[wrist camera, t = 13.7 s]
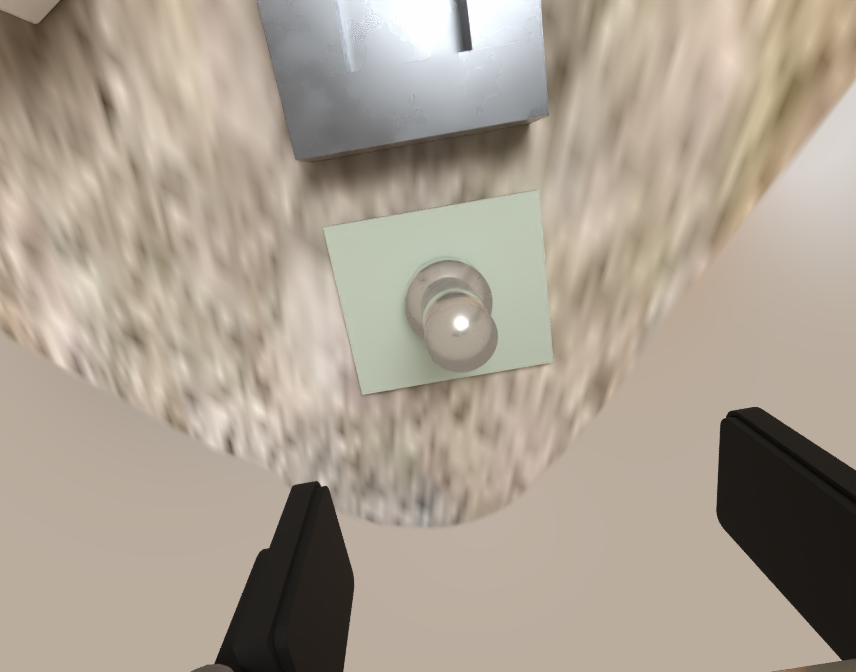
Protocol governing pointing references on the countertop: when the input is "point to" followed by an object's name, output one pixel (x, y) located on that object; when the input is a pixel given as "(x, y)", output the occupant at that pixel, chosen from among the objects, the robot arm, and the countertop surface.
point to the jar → (28, 8)
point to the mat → (428, 239)
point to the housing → (403, 70)
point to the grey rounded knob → (452, 313)
